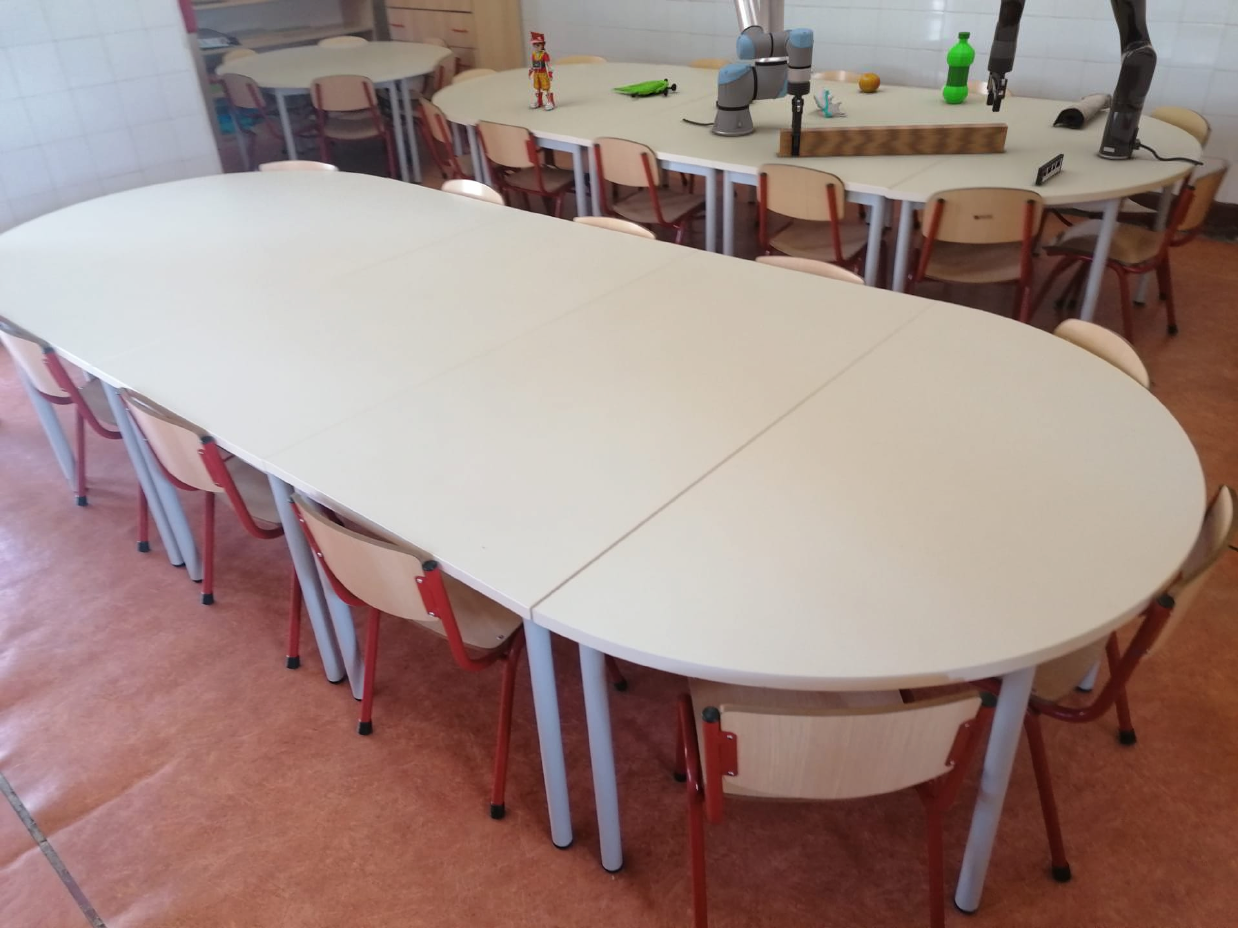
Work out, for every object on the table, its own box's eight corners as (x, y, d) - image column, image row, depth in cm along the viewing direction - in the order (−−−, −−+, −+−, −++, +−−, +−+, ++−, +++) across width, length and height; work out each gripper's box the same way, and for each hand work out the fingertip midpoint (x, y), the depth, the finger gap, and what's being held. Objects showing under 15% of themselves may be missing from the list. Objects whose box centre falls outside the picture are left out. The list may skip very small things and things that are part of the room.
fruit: (854, 84, 373) (866, 66, 369) (856, 88, 380) (868, 70, 377) (870, 95, 371) (882, 77, 368) (872, 98, 379) (884, 81, 376)
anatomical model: (809, 86, 352) (834, 80, 351) (812, 113, 358) (836, 106, 357) (818, 95, 340) (845, 88, 339) (822, 123, 346) (847, 116, 345)
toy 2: (686, 85, 398) (631, 84, 414) (685, 72, 395) (629, 72, 411) (651, 104, 381) (596, 103, 397) (650, 92, 378) (594, 91, 394)
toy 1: (525, 109, 381) (517, 32, 364) (534, 104, 388) (527, 28, 371) (550, 110, 377) (543, 32, 360) (559, 105, 384) (553, 28, 367)
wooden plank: (779, 157, 307) (780, 131, 302) (778, 153, 311) (780, 128, 306) (1003, 152, 298) (1008, 126, 293) (1000, 149, 302) (1005, 123, 297)
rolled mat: (1079, 98, 337) (1104, 81, 329) (1092, 118, 337) (1118, 102, 329) (1048, 120, 320) (1074, 102, 312) (1063, 141, 320) (1088, 124, 312)
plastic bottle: (973, 101, 354) (984, 32, 339) (955, 106, 349) (966, 36, 335) (952, 97, 361) (962, 29, 346) (934, 102, 356) (944, 33, 342)
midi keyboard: (1039, 185, 269) (1043, 168, 266) (1035, 184, 270) (1038, 168, 267) (1060, 170, 279) (1064, 154, 277) (1056, 169, 280) (1060, 153, 277)
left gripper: (812, 86, 287) (807, 160, 300) (809, 75, 301) (804, 146, 315) (788, 87, 288) (784, 161, 301) (786, 75, 302) (782, 146, 316)
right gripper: (1020, 59, 277) (1009, 114, 287) (1009, 50, 289) (999, 103, 298) (995, 60, 278) (985, 114, 287) (985, 51, 290) (976, 103, 299)
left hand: (794, 153), depth 308 cm, fingers closed on wooden plank, 4 cm apart
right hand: (992, 108), depth 293 cm, fingers open, 8 cm apart
